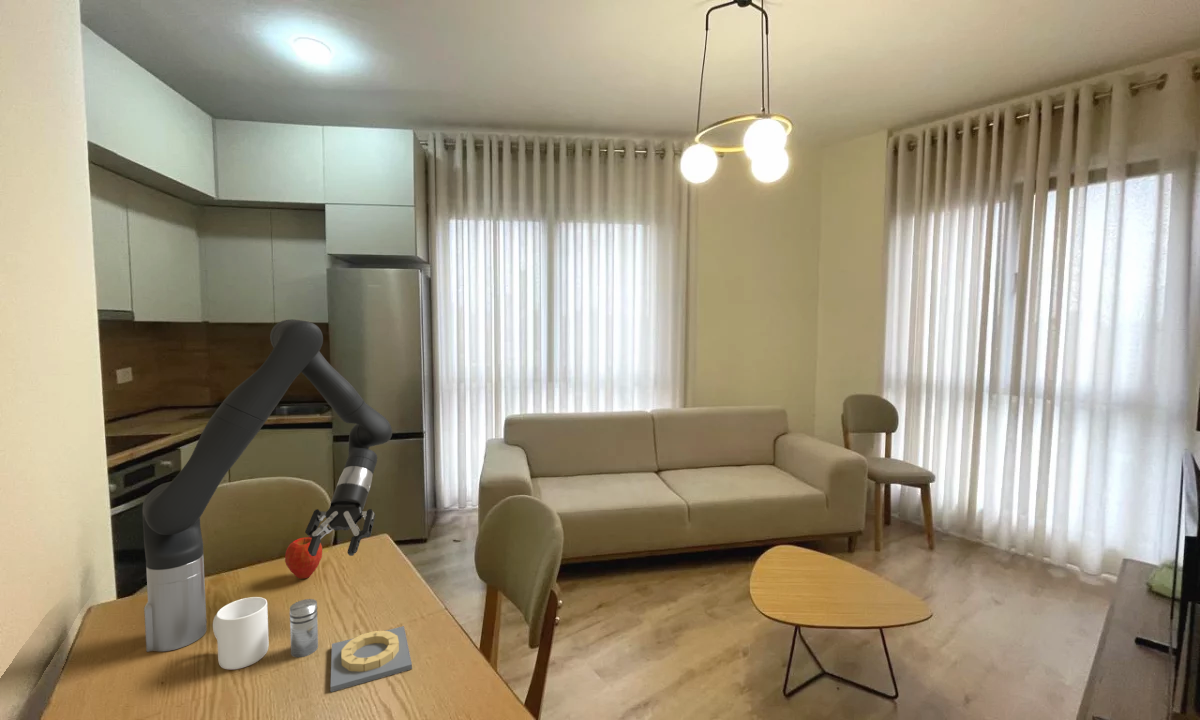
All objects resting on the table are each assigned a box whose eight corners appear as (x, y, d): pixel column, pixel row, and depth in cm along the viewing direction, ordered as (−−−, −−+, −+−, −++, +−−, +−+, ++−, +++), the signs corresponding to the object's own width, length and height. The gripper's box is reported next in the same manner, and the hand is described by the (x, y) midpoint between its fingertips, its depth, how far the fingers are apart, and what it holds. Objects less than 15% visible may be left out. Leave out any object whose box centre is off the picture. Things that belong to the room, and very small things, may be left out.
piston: (289, 660, 100) (288, 614, 100) (291, 646, 104) (290, 602, 104) (317, 653, 102) (316, 608, 102) (318, 639, 107) (317, 596, 106)
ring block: (330, 692, 92) (330, 679, 91) (332, 648, 104) (331, 636, 104) (411, 669, 98) (411, 656, 98) (404, 630, 110) (403, 619, 110)
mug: (194, 661, 99) (192, 611, 99) (236, 637, 107) (234, 590, 107) (238, 675, 96) (236, 623, 95) (278, 649, 104) (277, 600, 103)
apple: (291, 589, 127) (290, 548, 126) (281, 578, 132) (279, 538, 132) (327, 577, 133) (326, 538, 132) (316, 567, 139) (315, 529, 138)
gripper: (317, 482, 122) (292, 548, 111) (377, 481, 122) (357, 548, 112) (329, 496, 127) (306, 560, 117) (386, 495, 128) (368, 560, 117)
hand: (331, 554), depth 114 cm, fingers open, 8 cm apart
